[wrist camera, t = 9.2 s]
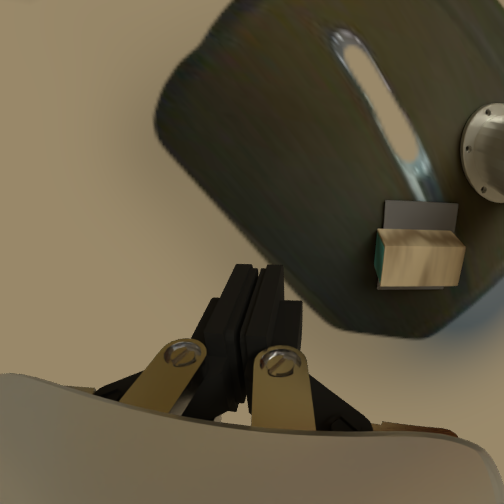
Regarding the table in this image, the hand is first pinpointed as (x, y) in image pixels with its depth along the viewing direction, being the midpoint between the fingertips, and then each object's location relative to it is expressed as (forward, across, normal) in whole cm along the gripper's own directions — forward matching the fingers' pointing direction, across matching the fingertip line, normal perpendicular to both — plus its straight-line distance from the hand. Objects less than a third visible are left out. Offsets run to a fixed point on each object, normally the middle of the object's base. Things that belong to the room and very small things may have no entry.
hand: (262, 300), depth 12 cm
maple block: (+24, -9, +10) cm, 28 cm away
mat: (+27, -15, +10) cm, 33 cm away
